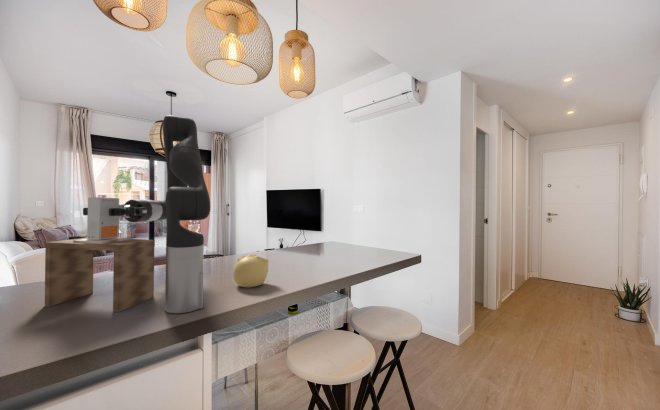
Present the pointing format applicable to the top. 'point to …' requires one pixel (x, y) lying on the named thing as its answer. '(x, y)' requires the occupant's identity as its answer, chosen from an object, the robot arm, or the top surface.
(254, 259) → the yellow rounded lump
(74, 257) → the shelf nook
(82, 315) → the top surface
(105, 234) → the skincare box
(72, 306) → the top surface
